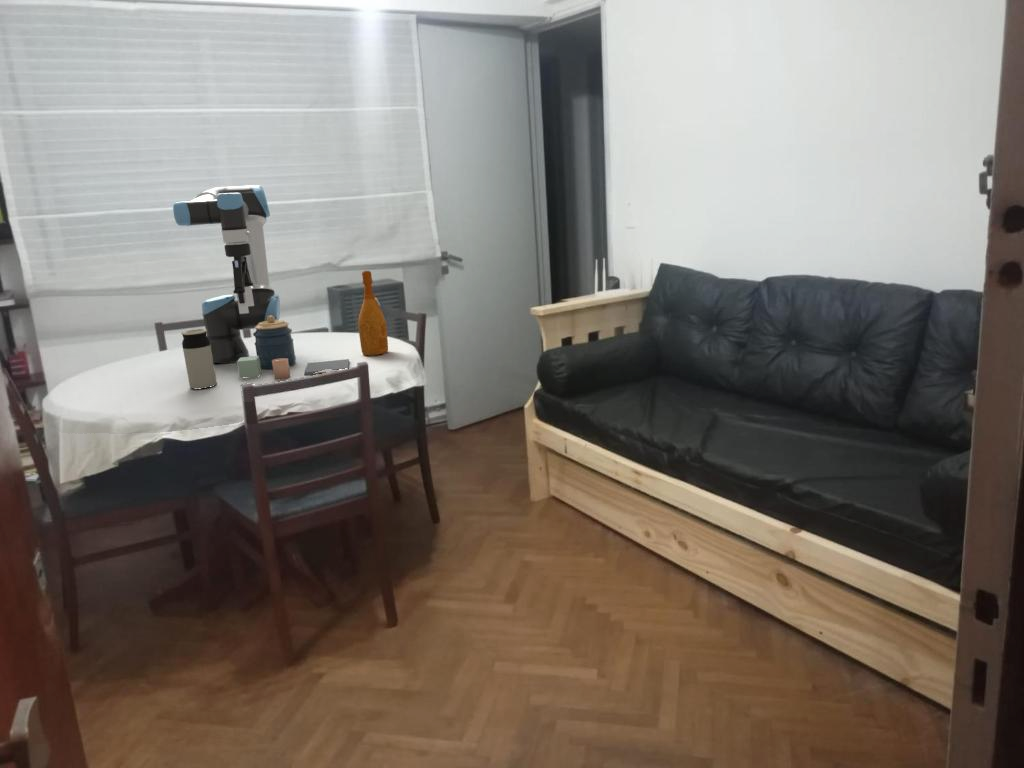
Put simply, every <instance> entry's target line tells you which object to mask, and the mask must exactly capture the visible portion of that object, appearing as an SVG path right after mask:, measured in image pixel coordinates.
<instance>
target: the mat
mask: <svg viewBox="0 0 1024 768" xmlns="http://www.w3.org/2000/svg"><path fill="white" fill-rule="evenodd" d="M349 366H350V358H346V359H336V360H327V361H326V360H325V361H314V362H308V363H306V367H305V369H304V372H303V373H304V376H311V375H310V374H313V373H315V372H318V371H322V370H325V369H332V370H339V369H345V368H348V369H349Z"/></svg>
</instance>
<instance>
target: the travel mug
mask: <svg viewBox="0 0 1024 768" xmlns="http://www.w3.org/2000/svg"><path fill="white" fill-rule="evenodd" d="M206 331H207V330H206V329H205V328H193V329H188V330H183V331H182V332H180V334H181V335H182V338H183V339H182V342H181V345H182V351H183V357H184V361H185V368H186V373H187V378H188V384H189V388H190V389H191V388H205V387H210V386H213V385H215V384H216V385H218V382H217V376H216V371H215V364H213V358H212V352H211V346H210V340H209V338H208V337H207V335H206ZM216 385H215V386H216Z"/></svg>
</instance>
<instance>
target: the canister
mask: <svg viewBox="0 0 1024 768" xmlns="http://www.w3.org/2000/svg"><path fill="white" fill-rule="evenodd" d="M289 324H290V323H288V322H287V321H285V320H284V319H283V320H282V319H279V320H275V318H274V316H272V315H270V316H268V317H267V321H263V322H260V323H258V325H257V326H255V329H254V330H255V331H254V332H253V333H252V335H253V337H255V342H254V346H255V352H256V356H259V360H260V366H261V369H262V368H263V369H264V370H273V365H272V360H274V359H278V358H288V363H289V367H290V366H293V365H295V364H296V361H297V360H296V359H297V357H296V354H295V352H296V351H295V346H294V345H295V344H294V338H293V337H292V332H293V329H292V328H290V327H289Z"/></svg>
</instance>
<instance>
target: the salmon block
mask: <svg viewBox="0 0 1024 768" xmlns="http://www.w3.org/2000/svg"><path fill="white" fill-rule="evenodd" d="M272 365H273V369H272V371H273V372H272V373H273V377H274V380H276V379H277V380H276V381H280V380H281V381H282V380H287V379H289V378H291V372H290V371H291V369H290V366H289V363H288V358H278V359H274V360H272ZM279 379H280V380H279Z"/></svg>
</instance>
